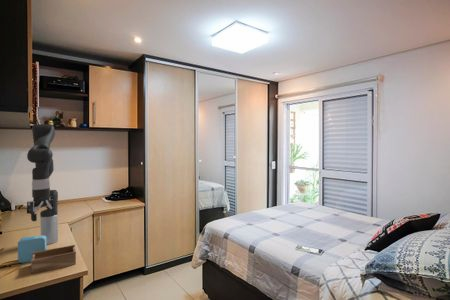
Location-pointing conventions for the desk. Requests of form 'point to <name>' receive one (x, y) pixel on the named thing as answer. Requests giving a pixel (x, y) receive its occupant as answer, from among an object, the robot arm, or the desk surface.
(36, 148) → the robot arm
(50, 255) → the crate
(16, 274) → the desk surface
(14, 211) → the desk surface
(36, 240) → the light blue flat block
